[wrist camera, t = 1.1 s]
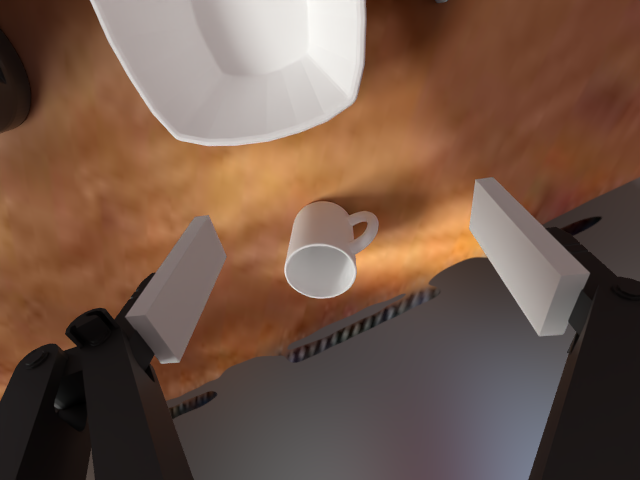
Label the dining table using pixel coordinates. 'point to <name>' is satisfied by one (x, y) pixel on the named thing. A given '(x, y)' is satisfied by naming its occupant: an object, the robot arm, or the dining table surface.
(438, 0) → the panel
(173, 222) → the dining table surface
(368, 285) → the dining table surface
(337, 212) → the mug
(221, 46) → the bowl
